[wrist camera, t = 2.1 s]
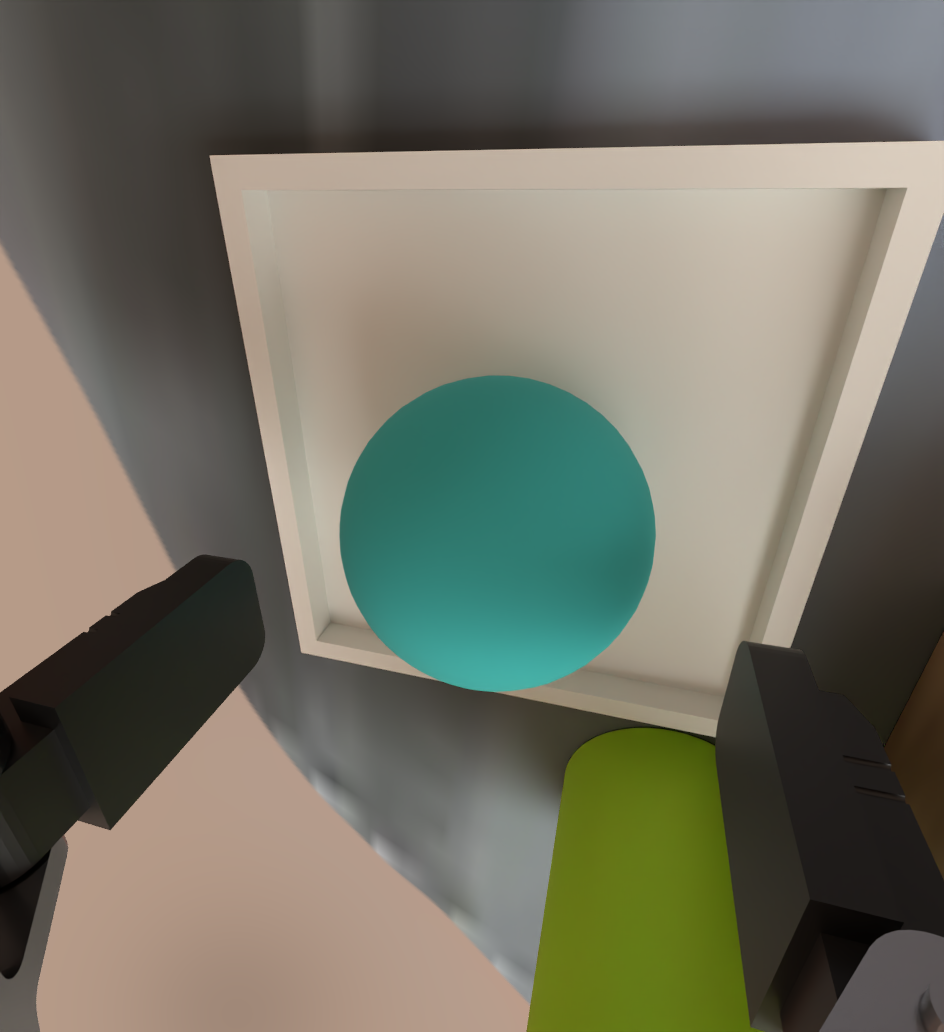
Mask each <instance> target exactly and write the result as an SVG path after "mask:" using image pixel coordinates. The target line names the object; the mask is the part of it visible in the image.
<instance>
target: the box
mask: <svg viewBox="0 0 944 1032" xmlns="http://www.w3.org/2000/svg"><path fill="white" fill-rule="evenodd" d="M884 750H885V752H886V754H887V756H888V758H889V761H890V763H891V771H893V772H895V774H896V776H897V778H898V780H899V783H900V785H901V787H902V789H903V791H904V794H905V803H906V804H909V805H910V807H911V809H912V811H913V813H914V816H915V818H916V820H917V822H918V824H919V827H920V829H921V831H922V833H923V836H924V838H925V840H926V842H927V844H928V847H929V849H930V851H931V853H932V855H933V858H934V860H935V862H936V864H937V866H938V869H939V871H940V873H941V875H942V877H943V880H944V632H943V634H942V636H941V638H940V640H939V642H938V644H937V645H936V647H935V649H934V651H933V653H932V655H931V657H930V659H929V661H928V663H927V665H926V667H925V669H924V671H923V673H922V675H921V677H920V679H919V681H918V683H917V685H916V687H915V688H914V690H913V692H912V694H911V696H910V698H909V700H908V702H907V704H906V706H905V708H904V710H903V712H902V714H901V716H900V718H899V720H898V722H897V724H896V726H895V728H894V730H893V731H892V733H891V735H890V737H889V739H888V741H887V743H886V745H885V747H884Z"/></svg>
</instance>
